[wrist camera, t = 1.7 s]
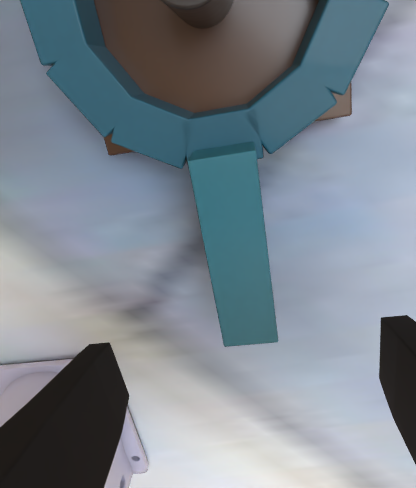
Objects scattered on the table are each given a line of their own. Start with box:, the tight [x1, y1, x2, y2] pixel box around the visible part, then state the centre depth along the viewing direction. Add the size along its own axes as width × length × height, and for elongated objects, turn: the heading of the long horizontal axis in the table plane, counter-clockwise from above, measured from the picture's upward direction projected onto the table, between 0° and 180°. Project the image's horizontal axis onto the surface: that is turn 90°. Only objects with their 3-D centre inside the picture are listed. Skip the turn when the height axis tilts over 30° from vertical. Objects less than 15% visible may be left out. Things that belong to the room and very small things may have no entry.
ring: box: [20, 0, 389, 347], centre depth 11 cm, size 17×10×3 cm, turn 10°
